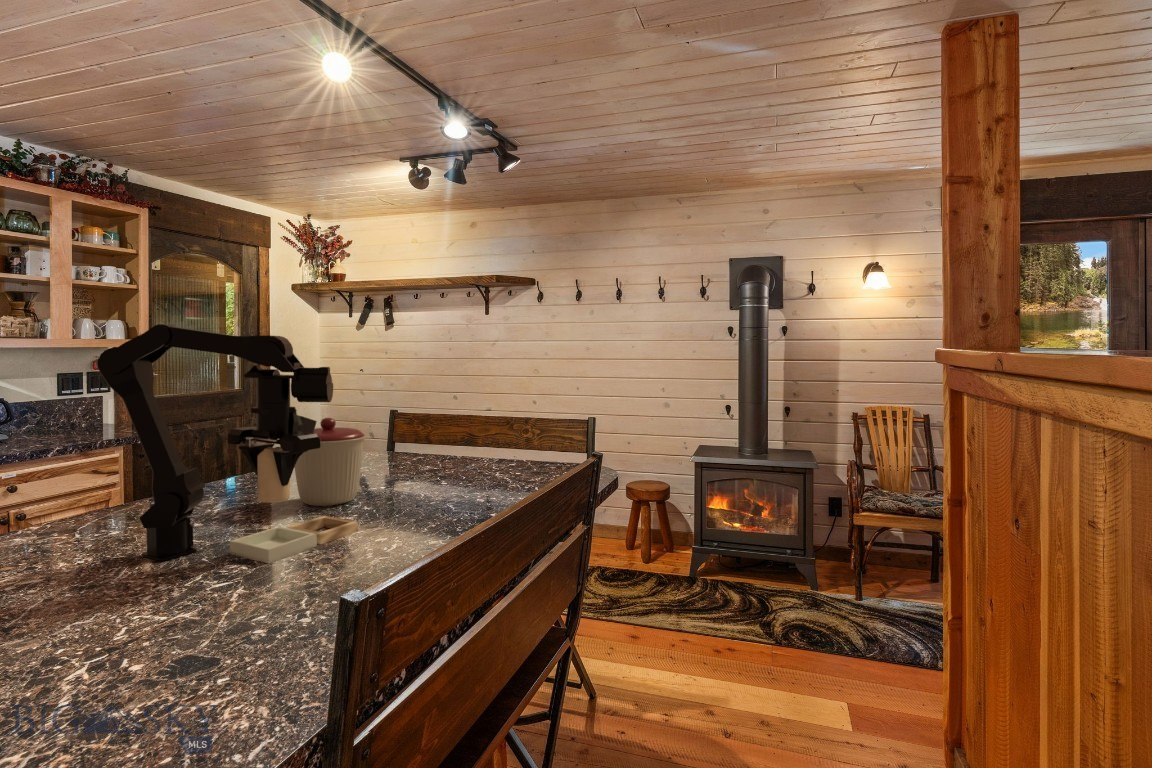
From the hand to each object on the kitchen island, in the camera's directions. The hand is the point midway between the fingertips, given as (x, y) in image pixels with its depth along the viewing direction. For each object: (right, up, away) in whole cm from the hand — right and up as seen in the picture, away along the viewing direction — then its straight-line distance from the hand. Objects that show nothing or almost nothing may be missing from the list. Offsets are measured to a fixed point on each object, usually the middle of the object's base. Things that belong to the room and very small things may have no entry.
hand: (273, 483), depth 118 cm
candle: (0, -3, 0) cm, 3 cm away
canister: (-4, -11, +37) cm, 39 cm away
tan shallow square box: (+5, -12, +11) cm, 17 cm away
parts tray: (0, -13, 0) cm, 13 cm away
